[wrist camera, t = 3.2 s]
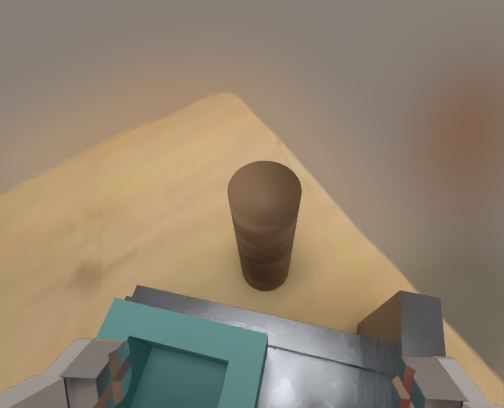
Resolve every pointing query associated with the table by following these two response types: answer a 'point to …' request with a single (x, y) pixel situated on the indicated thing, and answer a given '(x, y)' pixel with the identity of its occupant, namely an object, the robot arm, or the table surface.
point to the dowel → (264, 220)
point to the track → (326, 349)
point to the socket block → (186, 359)
